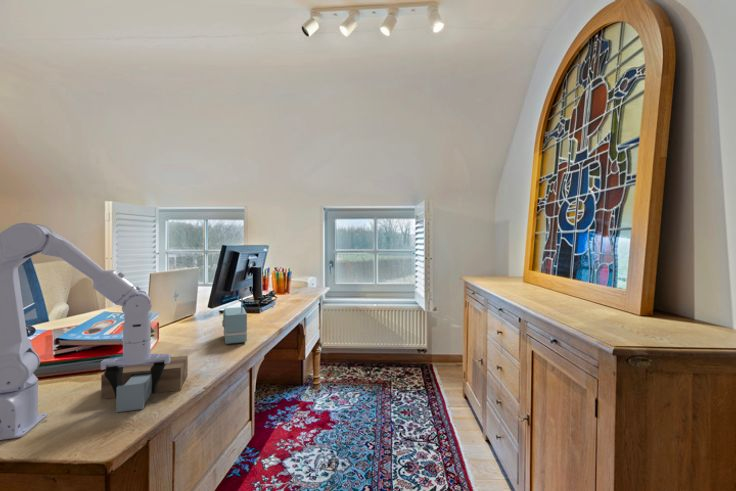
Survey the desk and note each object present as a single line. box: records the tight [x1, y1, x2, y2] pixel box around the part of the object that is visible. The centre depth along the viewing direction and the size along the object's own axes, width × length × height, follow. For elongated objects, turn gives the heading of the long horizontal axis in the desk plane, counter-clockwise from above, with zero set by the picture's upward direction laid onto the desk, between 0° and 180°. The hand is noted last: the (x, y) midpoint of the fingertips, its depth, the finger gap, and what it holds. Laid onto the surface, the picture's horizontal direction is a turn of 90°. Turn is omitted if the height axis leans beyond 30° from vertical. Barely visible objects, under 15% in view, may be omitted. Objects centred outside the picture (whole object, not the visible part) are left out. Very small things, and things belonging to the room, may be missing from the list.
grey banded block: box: [221, 293, 248, 345], centre depth 140 cm, size 16×9×20 cm, turn 25°
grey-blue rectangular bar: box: [115, 373, 152, 413], centre depth 88 cm, size 17×5×6 cm, turn 19°
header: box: [100, 355, 189, 400], centre depth 94 cm, size 10×18×6 cm, turn 109°
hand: (136, 394), depth 85 cm, fingers open, 7 cm apart
